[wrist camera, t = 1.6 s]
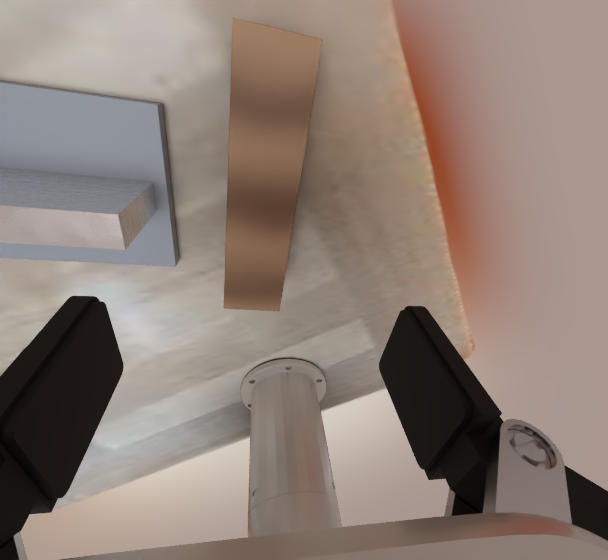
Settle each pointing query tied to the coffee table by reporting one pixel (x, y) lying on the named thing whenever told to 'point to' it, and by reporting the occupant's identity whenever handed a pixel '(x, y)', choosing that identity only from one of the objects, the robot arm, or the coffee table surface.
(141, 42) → the coffee table surface
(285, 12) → the coffee table surface
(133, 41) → the coffee table surface
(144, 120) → the fulcrum base
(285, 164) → the walnut batten
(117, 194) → the steel ridge
